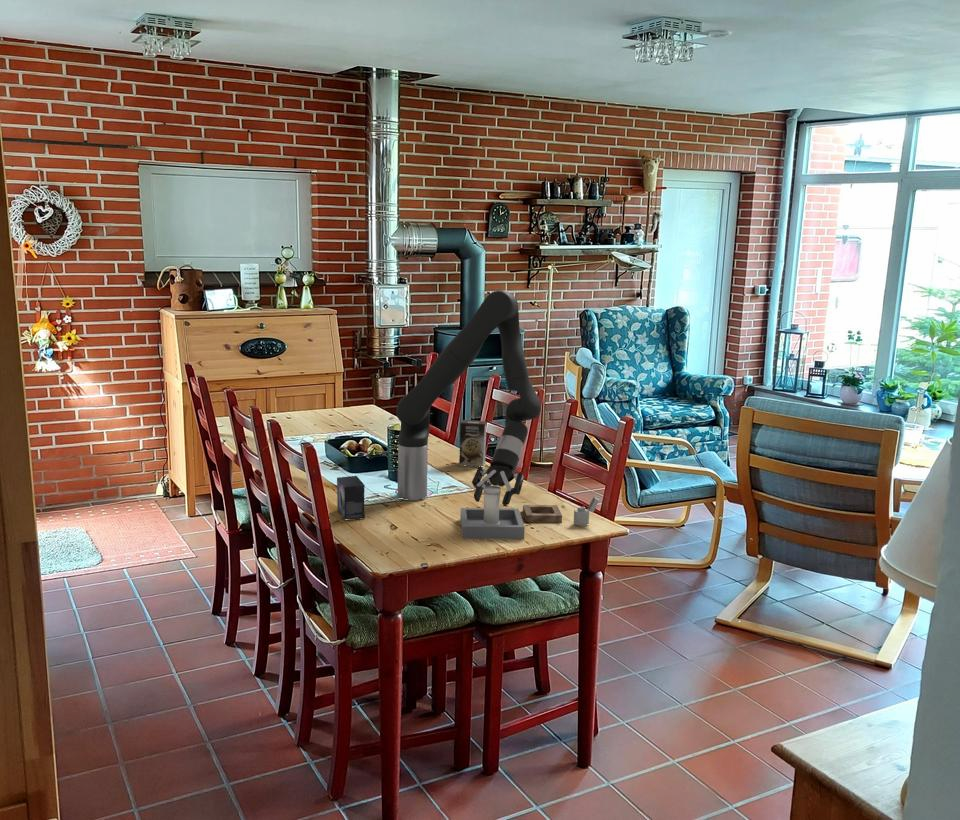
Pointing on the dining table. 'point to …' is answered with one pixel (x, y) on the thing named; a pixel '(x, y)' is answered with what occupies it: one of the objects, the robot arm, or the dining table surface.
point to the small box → (350, 497)
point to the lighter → (584, 513)
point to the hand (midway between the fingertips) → (490, 502)
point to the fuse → (491, 505)
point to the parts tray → (475, 529)
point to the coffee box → (472, 443)
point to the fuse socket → (532, 517)
